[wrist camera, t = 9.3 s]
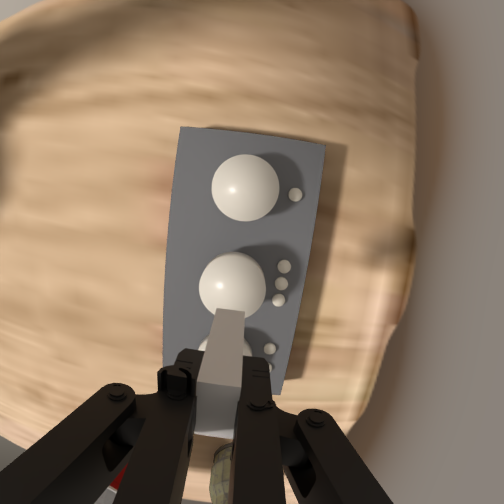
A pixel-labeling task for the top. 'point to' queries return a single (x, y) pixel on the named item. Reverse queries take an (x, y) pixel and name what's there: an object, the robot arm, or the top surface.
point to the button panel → (240, 240)
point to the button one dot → (245, 187)
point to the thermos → (220, 475)
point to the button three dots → (233, 283)
